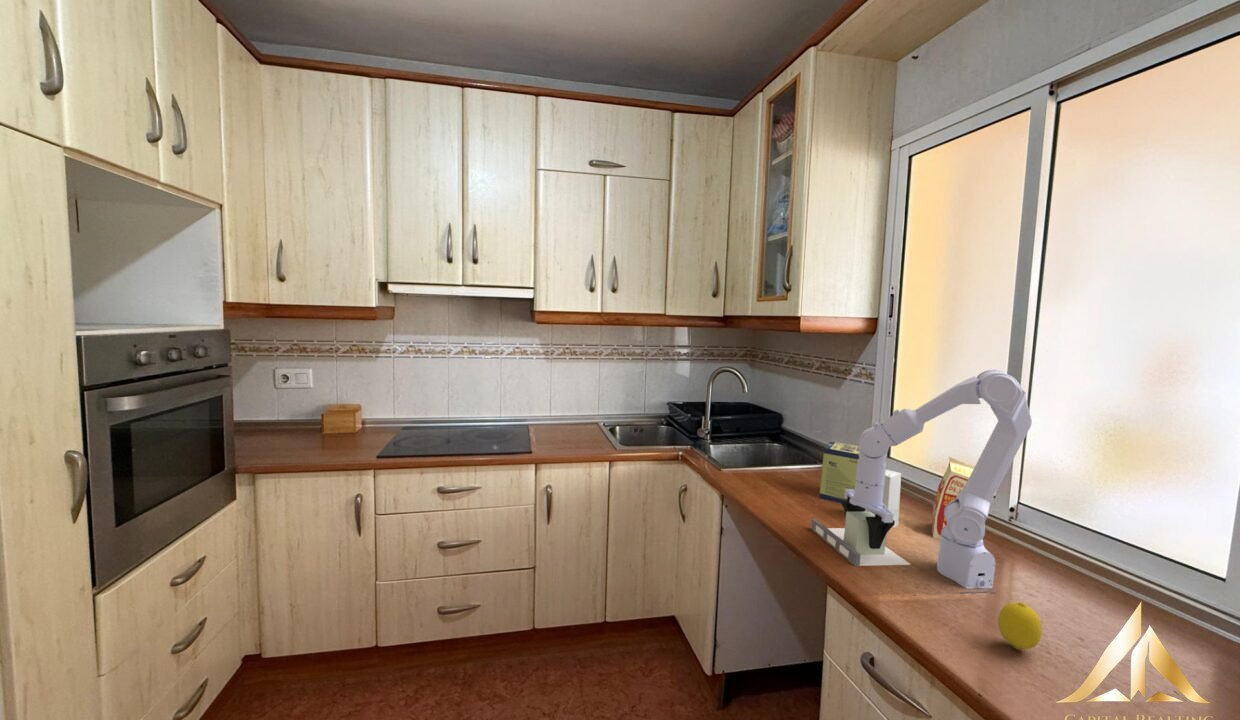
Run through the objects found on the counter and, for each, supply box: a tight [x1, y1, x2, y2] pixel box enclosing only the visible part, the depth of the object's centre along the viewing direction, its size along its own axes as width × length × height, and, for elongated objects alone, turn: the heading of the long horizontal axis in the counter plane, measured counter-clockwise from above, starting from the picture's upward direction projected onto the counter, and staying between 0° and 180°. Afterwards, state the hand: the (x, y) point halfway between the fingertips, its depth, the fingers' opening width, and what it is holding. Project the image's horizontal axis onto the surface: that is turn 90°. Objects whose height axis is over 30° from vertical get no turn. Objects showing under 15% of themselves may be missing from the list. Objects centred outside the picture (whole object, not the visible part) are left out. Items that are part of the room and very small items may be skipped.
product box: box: [844, 512, 887, 555], centre depth 111 cm, size 5×7×8 cm
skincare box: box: [864, 469, 902, 528], centre depth 128 cm, size 8×6×15 cm
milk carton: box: [931, 456, 976, 540], centre depth 124 cm, size 9×9×20 cm
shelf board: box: [810, 518, 912, 567], centre depth 114 cm, size 18×13×4 cm
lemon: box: [997, 601, 1043, 650], centre depth 81 cm, size 6×6×8 cm
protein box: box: [818, 441, 860, 504], centre depth 146 cm, size 10×16×16 cm
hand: (863, 540), depth 112 cm, fingers open, 7 cm apart
